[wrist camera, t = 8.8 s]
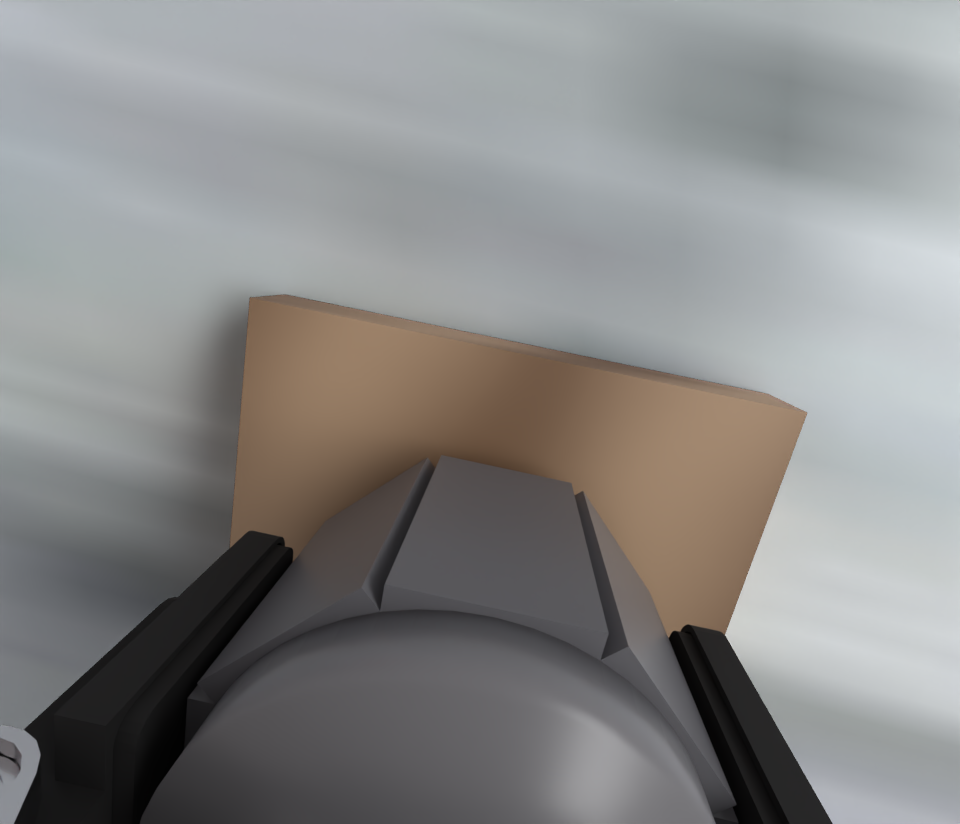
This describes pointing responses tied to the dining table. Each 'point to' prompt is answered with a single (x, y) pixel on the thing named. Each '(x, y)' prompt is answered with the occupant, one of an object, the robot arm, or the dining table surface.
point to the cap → (450, 675)
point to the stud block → (509, 439)
